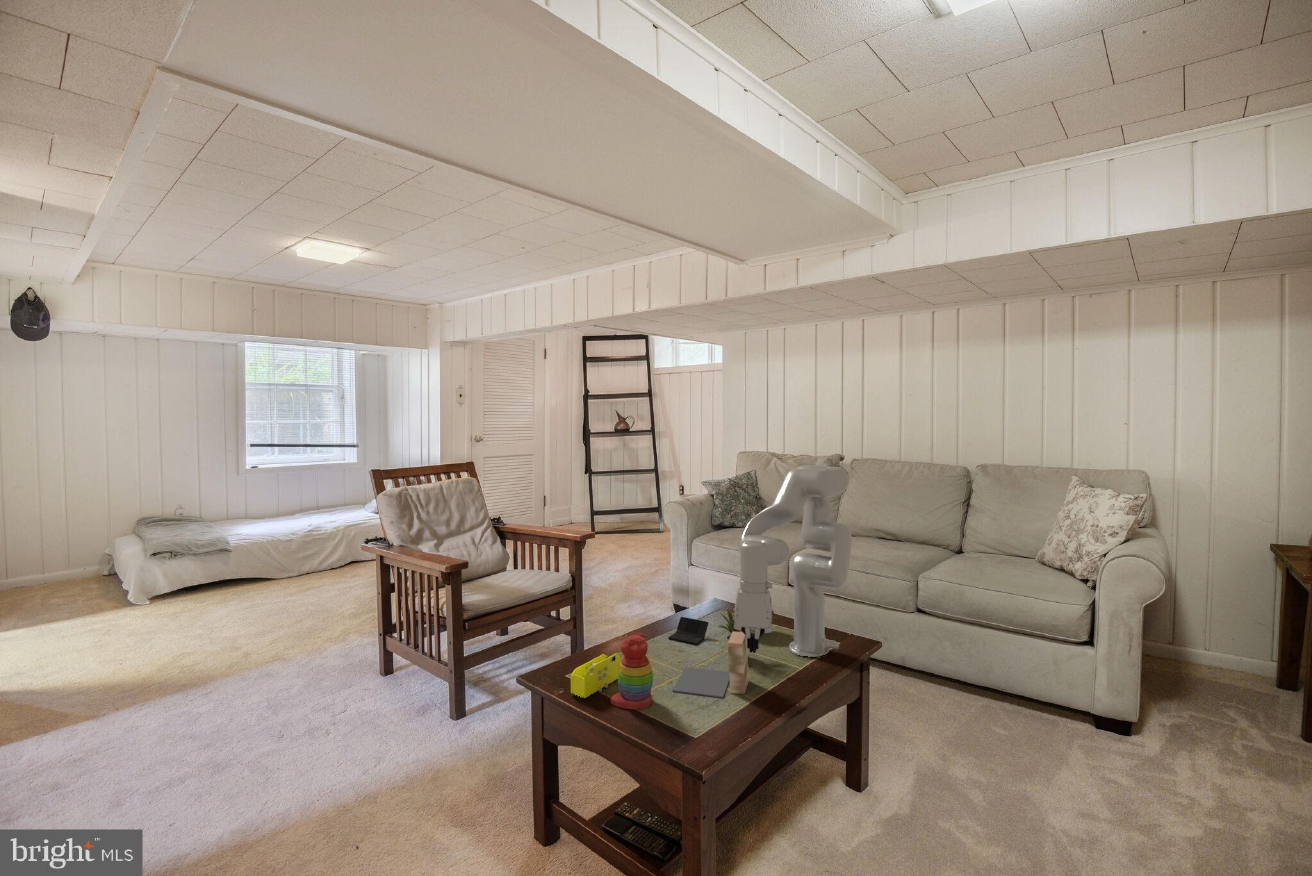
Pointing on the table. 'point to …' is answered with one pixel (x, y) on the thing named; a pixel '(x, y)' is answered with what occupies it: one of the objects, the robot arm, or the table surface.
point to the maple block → (738, 663)
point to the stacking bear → (634, 675)
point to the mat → (702, 682)
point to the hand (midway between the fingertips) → (752, 651)
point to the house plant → (730, 624)
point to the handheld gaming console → (690, 631)
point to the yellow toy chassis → (595, 675)
